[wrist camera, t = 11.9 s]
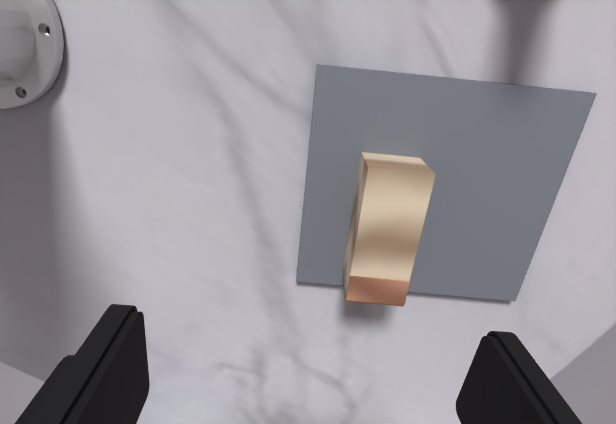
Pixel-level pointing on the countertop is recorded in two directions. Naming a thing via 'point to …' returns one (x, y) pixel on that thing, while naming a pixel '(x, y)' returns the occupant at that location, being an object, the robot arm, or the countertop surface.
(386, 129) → the slate mat
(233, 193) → the countertop surface
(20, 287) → the countertop surface
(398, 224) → the beige brown block
